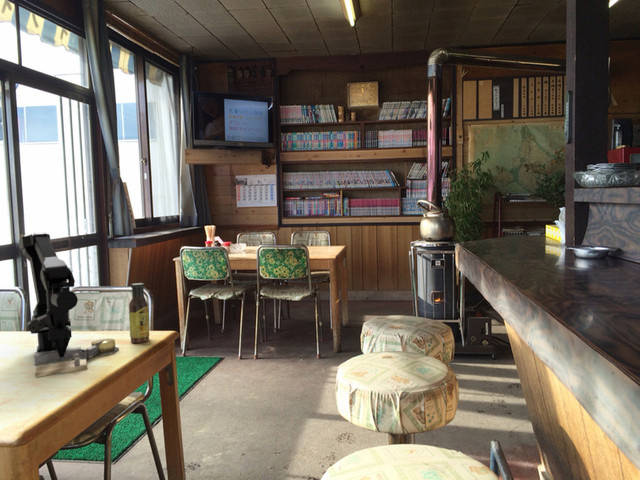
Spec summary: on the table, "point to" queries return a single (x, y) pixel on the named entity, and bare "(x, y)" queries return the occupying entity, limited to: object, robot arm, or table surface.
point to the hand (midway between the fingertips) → (61, 355)
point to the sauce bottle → (138, 315)
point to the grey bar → (55, 355)
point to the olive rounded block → (98, 348)
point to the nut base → (107, 352)
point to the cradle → (61, 367)
